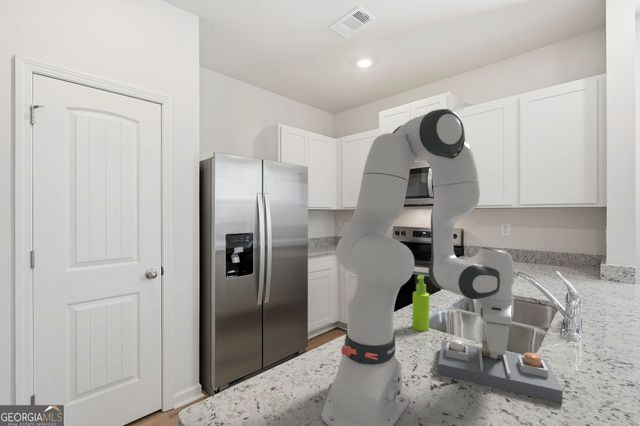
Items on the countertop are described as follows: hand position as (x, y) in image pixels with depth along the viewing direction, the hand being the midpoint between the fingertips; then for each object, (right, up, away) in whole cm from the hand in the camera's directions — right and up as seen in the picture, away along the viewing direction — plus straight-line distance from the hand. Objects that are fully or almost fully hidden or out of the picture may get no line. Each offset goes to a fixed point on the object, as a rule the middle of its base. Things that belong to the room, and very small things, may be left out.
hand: (493, 356), depth 83 cm
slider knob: (+1, -1, +3) cm, 4 cm away
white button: (-8, 0, +4) cm, 9 cm away
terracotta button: (+8, 0, -4) cm, 9 cm away
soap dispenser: (-10, -4, +29) cm, 31 cm away
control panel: (0, -4, 0) cm, 4 cm away
